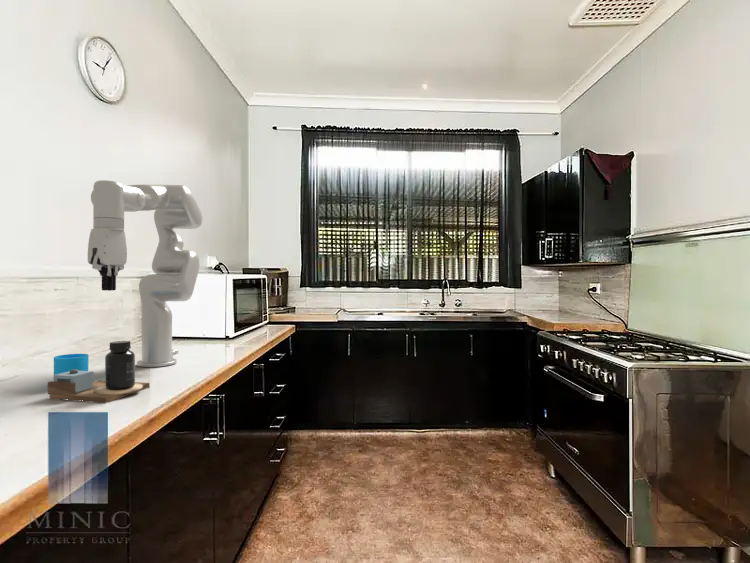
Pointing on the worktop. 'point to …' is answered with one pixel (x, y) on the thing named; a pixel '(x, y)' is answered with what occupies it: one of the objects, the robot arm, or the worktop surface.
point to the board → (91, 391)
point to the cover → (76, 379)
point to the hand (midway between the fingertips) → (108, 290)
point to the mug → (70, 363)
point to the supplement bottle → (120, 366)
